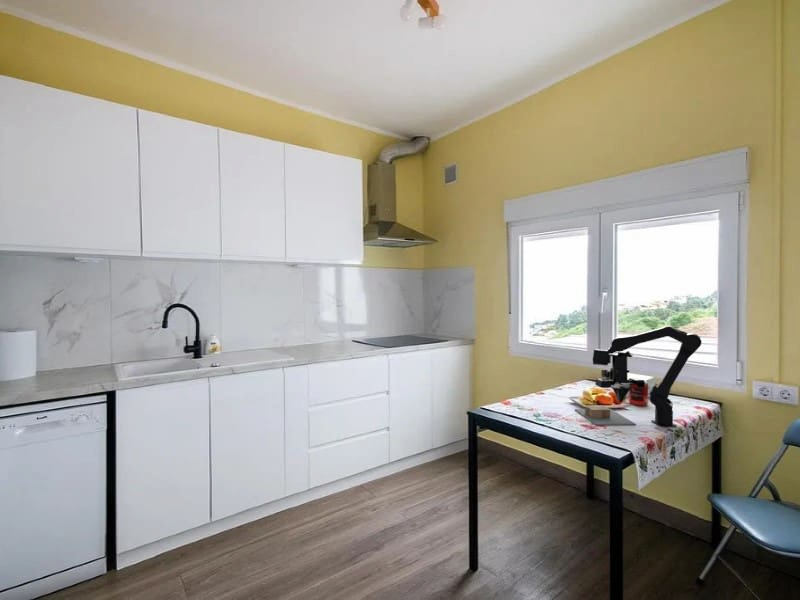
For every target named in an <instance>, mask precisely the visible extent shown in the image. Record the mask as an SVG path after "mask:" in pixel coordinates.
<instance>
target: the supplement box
mask: <svg viewBox="0 0 800 600" xmlns="http://www.w3.org/2000/svg"><path fill="white" fill-rule="evenodd" d="M629 378H639V379H642V380H644V381H647V382H648V398H650V395H649V392H650V390H651V389H652V388H653V386H654V383H655V377H654V376H650V375H644V374H635V373H630V372H628V379H629ZM625 398H627V399H629V392H628V393H627V394H626V397H625Z"/></svg>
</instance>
